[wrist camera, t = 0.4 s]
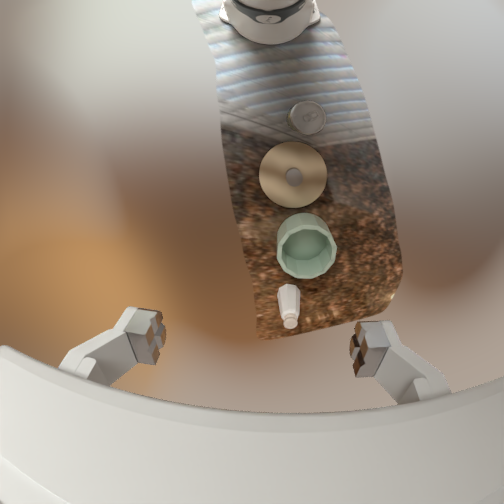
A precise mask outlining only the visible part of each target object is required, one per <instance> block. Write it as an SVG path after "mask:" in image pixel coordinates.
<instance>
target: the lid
mask: <svg viewBox="0 0 504 504" xmlns="http://www.w3.org/2000/svg"><path fill="white" fill-rule="evenodd" d="M259 180H260V184H261V187H262V189H263V191H264V193H265V194H266V195H267V196H268V198H270V199H271V200H272V201H273V202H275V203H276V204H278V205H281V206H284V207H289V208H298V207H303V206H306V205H308V204H310V203H312V202H313V201H315V200H316V199H317V198H318V197H319V196H320V195H321V193H322V192H323V190H324V188H325V185H326V181H327V169H326V165H325V162H324V160H323V159H322V157H321V156H320V154H319V153H318V152H317V151H316V150H315V149H313V148H312V147H310V146H309V145H307V144H304V143H301V142H284V143H281V144H279V145H276V146H275V147H273V148H272V149H271V150H269V151H268V153H267V154H266V155H265V156H264V158H263V160H262V162H261V165H260V169H259Z"/></svg>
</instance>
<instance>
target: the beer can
mask: <svg viewBox="0 0 504 504" xmlns="http://www.w3.org/2000/svg"><path fill="white" fill-rule="evenodd" d="M287 122H288V125H289V126H290V128H291V129H293V130H294V131H296V132H299V133H302V134H305V135H313V134H317V133H318V132H320V131H321V130H322V129H323V127H324V126H325V123H326V114H325V111H324V109H323V108H322V107H321V106H320V105H319V104H318V103H316V102H314V101H310V100H304V101H301V102H299V103H297V104H296V105H294V106H293V107H292V108H291V109H290V110H289V112H288V114H287Z"/></svg>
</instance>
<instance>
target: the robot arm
mask: <svg viewBox="0 0 504 504" xmlns="http://www.w3.org/2000/svg"><path fill="white" fill-rule="evenodd" d="M313 11H314V13H313ZM219 17H220V19H221V20H223V21H225V22H227V23H229V24H231V25H232V26H233V27H234V28H235V29H236V30H237V31H238V32H239V33H240V34H241V35H242V36H244V37H245V38H247V39H249V40H251V41H253V42H257V43H261V44H281V43H285V42H288V41H290V40H292V39H294V38H296V37H297V36H299V35H300V34H301V33H302V32H303V31H304V29H305V28H306V27H308V26H309V25H312V24H314V23H316V22H318V21H319V20H320V14H319V10H318V7H317V4H316V1H315V0H223V3H222V6H221V9H220V12H219ZM162 319H163V316H162V312H160V311H157V310H150V309H144V308H136V307H130V306H129V307H127V309H126V310H125V311H124V313H123V314H122V316H121V317H120V319H119V320H118V322H117V323H116V325H115V326H114V328H113V329H112V330H111V329H109V330H107V331H105V332H103V333H101V334H99V335H98V336H96V337H94V338H92V339H90V340H88V341H86V342H84V343H83V344H81V345H79V346H77V347H75V348H74V349H72V350H70V351H69V352H68V353H67V355H66V356H65V358H64V359H63V361H62V362H61V364H60V365H59V367H58V368H55V367H52V366H50V365H48V364H45V363H43V362H41V361H38V360H36V359H34V358H32V357H30V356H27V355H25V354H23V353H21V352H19V351H17V350H15V349H13V348H12V347H10V346H6V345H3V346H0V504H504V377H501V378H498V379H495V380H493V381H490V382H487V383H484V384H481V385H478V386H475V387H472V388H469V389H466V390H462V391H459V392H455V393H451V390H450V388H449V386H448V383H447V381H446V379H445V377H444V375H443V373H442V372H440V371H439V370H438V369H437V368H435V367H434V366H432V365H431V364H430V363H428V362H427V361H426V360H424V359H423V358H422V357H420V356H419V355H417V354H416V353H415V352H413V351H412V350H411V349H409V348H408V347H406V346H403V345H402V343H401V341H400V339H399V337H398V335H397V332H396V330H395V328H394V326H393V324H392V322H391V321H390V320H385V321H366V322H365V321H364V322H357V323H356V325H355V328H354V329H355V334H354V335H353V336H352V338H351V341H350V356H351V358H352V359H353V360H354V364H353V368H354V373H355V377H373V376H374V378H375V379H376V380H377V381H378V382H379V383H380V385H381V386H382V387H383V388H384V389H385V390H386V391H387V392H388V393H389V394H390V395H391V397H392V398H393V399H394V400H395V401H396V402H397V403H398V404H397V405H395V406H388V407H381V408H373V409H364V410H355V411H341V412H323V413H267V412H250V411H237V410H227V409H217V408H209V407H202V406H195V405H189V404H183V403H177V402H172V401H167V400H161V399H157V398H152V397H147V396H144V395H139V394H135V393H131V392H127V391H123V390H120V389H116V388H113V387H110V385H111V384H112V383H114V382H115V381H116V380H117V379H119V378H120V377H121V376H122V375H124V374H125V373H126V372H127V371H129V370H130V369H131V368H132V367H134V366H135V365H136V364H137V362H138V363H144V364H150V365H156V362H157V360H158V358H159V355H160V352H159V349H160V348H162V347H163V345H164V344H165V340H166V329H165V326H164V325H163V324H162V323H161V322H162Z"/></svg>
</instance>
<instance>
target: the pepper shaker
mask: <svg viewBox="0 0 504 504" xmlns="http://www.w3.org/2000/svg"><path fill="white" fill-rule="evenodd" d="M277 297H278V302H279V308H280V313H281V318H282V319H283V320H284V326H285V327H286V328H288V329H293V328H295V327H296V326H297V324H298V322H297V319H298V316H299V309H300V290H299V289H298V288H297V286H296V285H292V284H285V285H284V286H282V287H280V288H279V290H278V294H277Z"/></svg>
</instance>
